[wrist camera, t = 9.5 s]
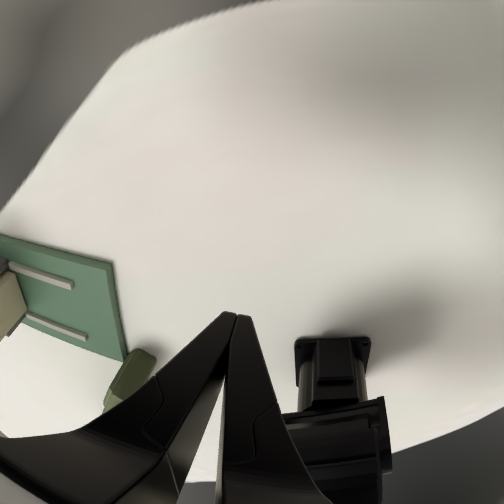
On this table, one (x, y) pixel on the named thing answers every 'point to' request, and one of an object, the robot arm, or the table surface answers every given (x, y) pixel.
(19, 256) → the board
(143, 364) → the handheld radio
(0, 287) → the plug
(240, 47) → the table surface
